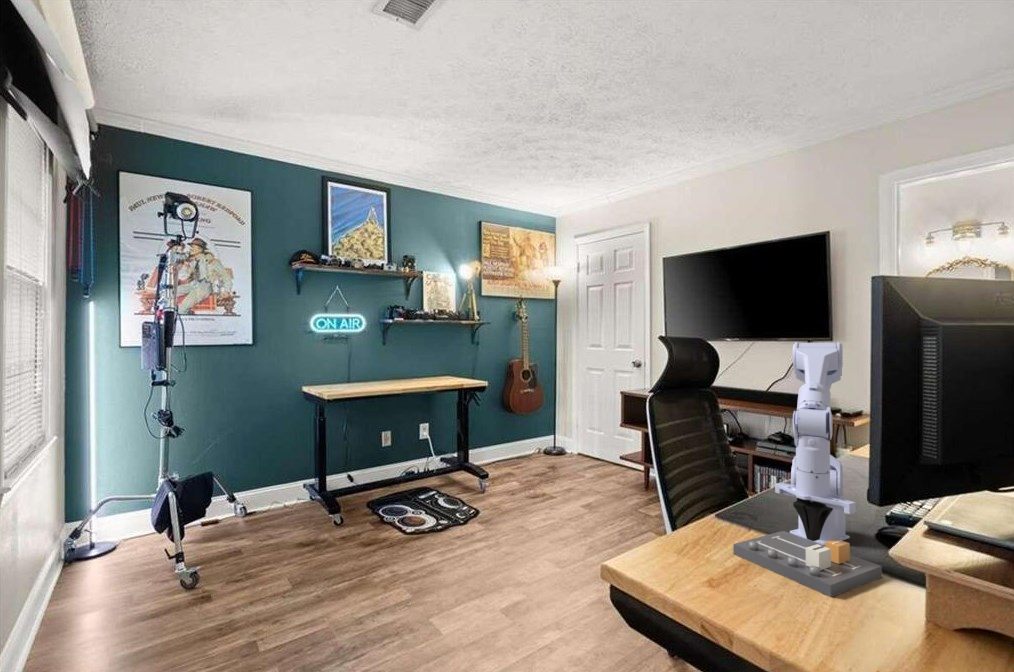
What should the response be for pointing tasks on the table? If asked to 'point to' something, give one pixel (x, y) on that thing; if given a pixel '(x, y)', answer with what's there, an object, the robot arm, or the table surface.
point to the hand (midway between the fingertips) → (813, 539)
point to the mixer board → (790, 561)
